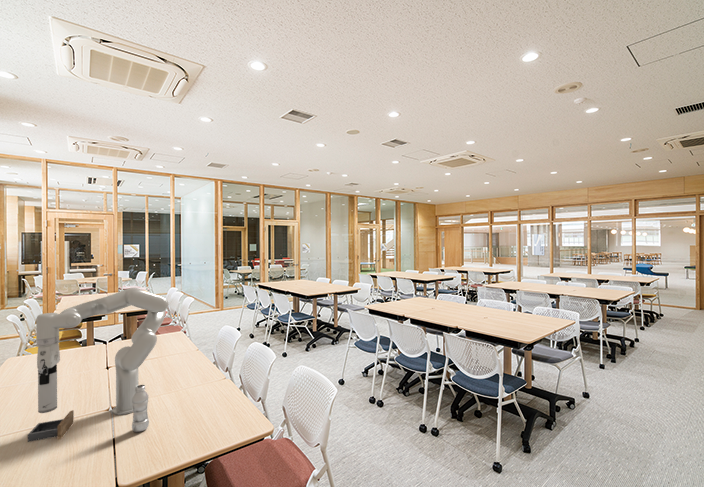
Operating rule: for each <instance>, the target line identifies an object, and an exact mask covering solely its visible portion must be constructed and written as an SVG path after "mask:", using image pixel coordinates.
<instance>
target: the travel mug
mask: <svg viewBox="0 0 704 487" xmlns="http://www.w3.org/2000/svg"><path fill="white" fill-rule="evenodd" d="M44 368H47V367H44ZM45 371H46V369H45ZM48 374H49V384H44V385H39V372H38V371H37V407H38V408H37V409H38V410H37V412H38V414H39V413H40V414H48V413H51V412H52V411H55V410H57V408H58V363H57V364H56V365H55V366H53V367H52V368H49V372H48Z"/></svg>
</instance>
